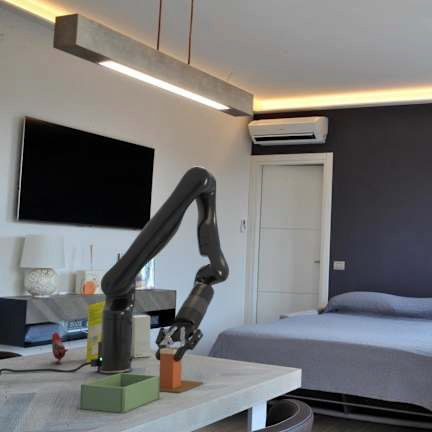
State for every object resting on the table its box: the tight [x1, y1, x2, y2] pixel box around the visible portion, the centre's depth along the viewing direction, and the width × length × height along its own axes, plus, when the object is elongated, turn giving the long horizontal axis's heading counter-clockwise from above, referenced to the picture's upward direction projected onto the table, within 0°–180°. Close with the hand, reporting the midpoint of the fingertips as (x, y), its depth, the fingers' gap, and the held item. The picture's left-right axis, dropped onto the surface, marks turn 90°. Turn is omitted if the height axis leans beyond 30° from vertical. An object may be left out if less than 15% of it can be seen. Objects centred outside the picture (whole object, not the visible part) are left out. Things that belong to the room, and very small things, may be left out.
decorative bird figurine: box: [51, 332, 69, 365], centre depth 203 cm, size 3×18×10 cm, turn 43°
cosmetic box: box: [131, 314, 151, 358], centre depth 220 cm, size 8×6×15 cm
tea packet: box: [159, 346, 183, 389], centre depth 172 cm, size 5×4×11 cm
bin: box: [79, 372, 161, 414], centre depth 155 cm, size 13×15×6 cm
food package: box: [85, 300, 105, 363], centre depth 212 cm, size 15×1×20 cm, turn 5°
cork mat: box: [159, 379, 204, 394], centre depth 174 cm, size 12×12×1 cm
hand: (166, 359), depth 170 cm, fingers open, 5 cm apart
